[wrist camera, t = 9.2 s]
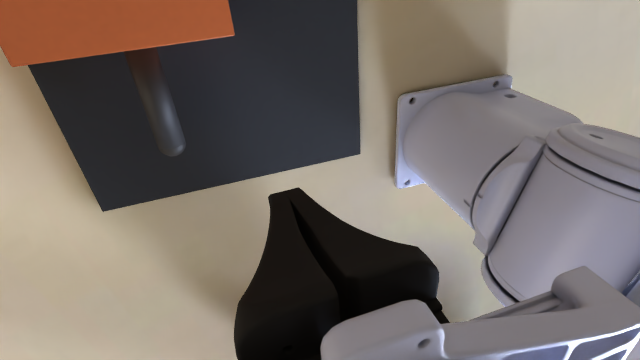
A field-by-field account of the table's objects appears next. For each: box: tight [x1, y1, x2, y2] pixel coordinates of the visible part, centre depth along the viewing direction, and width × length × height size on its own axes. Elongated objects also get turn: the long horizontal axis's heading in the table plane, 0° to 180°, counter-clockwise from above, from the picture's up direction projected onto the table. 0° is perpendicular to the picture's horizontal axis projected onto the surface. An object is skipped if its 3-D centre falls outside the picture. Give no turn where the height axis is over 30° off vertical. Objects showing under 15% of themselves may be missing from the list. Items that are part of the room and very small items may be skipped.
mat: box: [28, 0, 360, 212], centre depth 20 cm, size 18×22×1 cm
